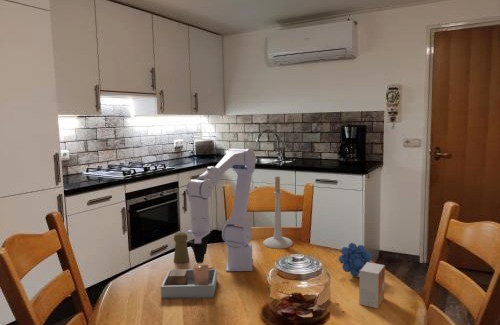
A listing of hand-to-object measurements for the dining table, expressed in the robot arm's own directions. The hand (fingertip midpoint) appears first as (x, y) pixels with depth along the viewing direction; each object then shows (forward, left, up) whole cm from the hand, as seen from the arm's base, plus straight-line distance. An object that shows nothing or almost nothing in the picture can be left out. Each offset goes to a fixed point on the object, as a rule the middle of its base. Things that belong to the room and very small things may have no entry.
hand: (201, 258), depth 126 cm
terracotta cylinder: (0, 0, -10) cm, 10 cm away
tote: (+4, 0, -10) cm, 11 cm away
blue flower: (-52, -7, -11) cm, 53 cm away
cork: (+11, -26, -11) cm, 30 cm away
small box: (-52, +10, -11) cm, 54 cm away
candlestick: (-28, -44, -11) cm, 53 cm away
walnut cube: (+8, 0, -10) cm, 12 cm away
